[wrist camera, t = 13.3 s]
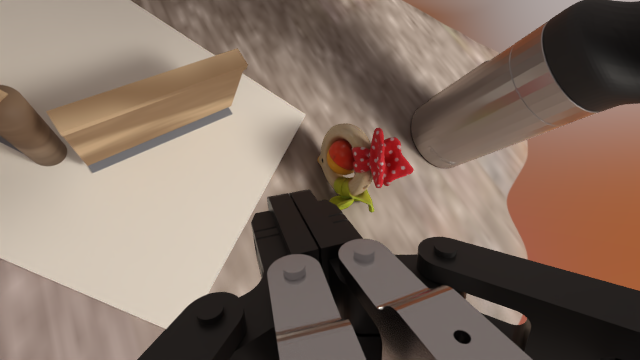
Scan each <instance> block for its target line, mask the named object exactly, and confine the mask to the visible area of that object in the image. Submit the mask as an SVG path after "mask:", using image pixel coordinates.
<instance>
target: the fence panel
mask: <svg viewBox="0 0 640 360" xmlns="http://www.w3.org/2000/svg"><path fill="white" fill-rule="evenodd" d="M247 66H248V64H247V63H246V61H245V59H244V58H243V56H242V55H241V53H240V51H239V50H238V48H237V49H234V50H231V51H228V52H225V53H222V54H219V55H216V56H213V57H210V58H207V59H204V60H200V61H197V62H194V63H191V64H188V65H185V66H182V67H179V68H176V69H173V70H170V71H167V72H164V73H161V74H158V75H155V76H152V77H149V78H146V79H143V80H140V81H137V82H134V83H131V84H127V85H124V86H121V87H118V88H115V89H112V90H109V91H106V92H103V93H100V94H97V95H94V96H91V97H88V98H85V99H82V100H79V101H76V102H73V103H70V104H67V105H64V106H61V107H58V108H55V109H51V110H48V111H46V113H47V114H48V116H49V117H50V119H51V121H52V122H53V124H54V125H55V127H56V129H57V130H58V132H59V133H60V134H61V136H62V137H64V138H65V140H66V141H67V142H68V143H69V144H70V146H71V147H72V148H73V149H74V150H75V152H76V153H77V154H78V155H79V156H80V158H81V159H82V160H83V161H84V162H85V164H86V165H87V166H89V165H91V164H94V163H96V162H98V161H101V160H103V159H106V158H108V157H110V156H113V155H115V154H118V153H120V152H122V151H125V150H127V149H130V148H132V147H134V146H137V145H139V144H142V143H144V142H146V141H149V140H151V139H154V138H156V137H158V136H161V135H163V134H166V133H168V132H170V131H173V130H175V129H177V128H180V127H182V126H185V125H187V124H189V123H192V122H194V121H197V120H199V119H201V118H204V117H206V116H209V115H211V114H213V113H216V112H218V111H221V110H223V109H225V108H228V107H230V106H231V105H232V102H233V99H234V96H235V94H236V91H237V88H238V85H239V82H240V79H241V76H242V73H243V70H245V69H247Z"/></svg>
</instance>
